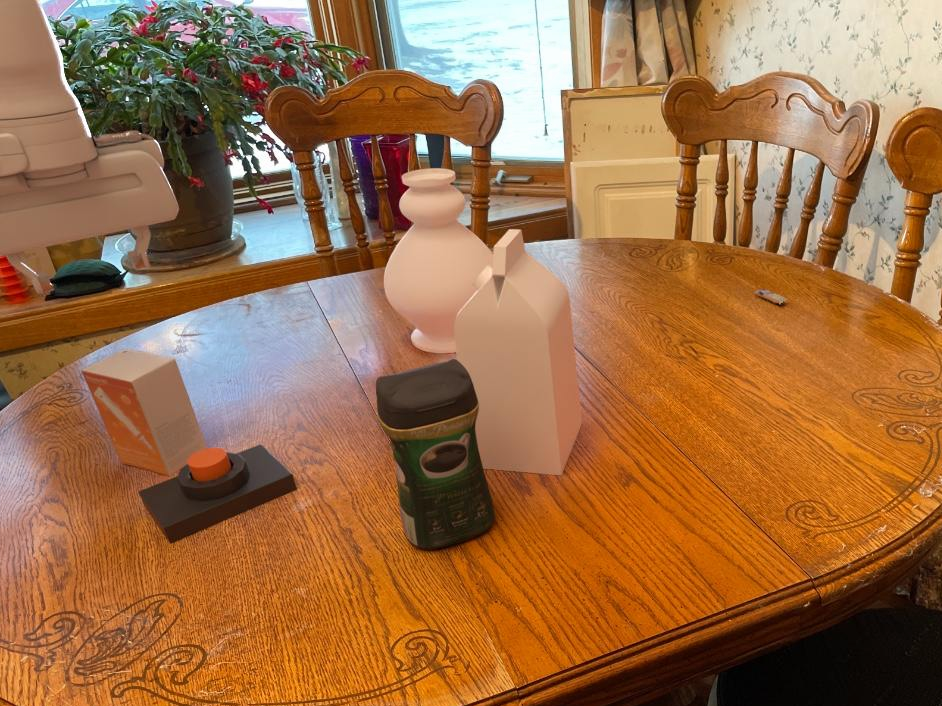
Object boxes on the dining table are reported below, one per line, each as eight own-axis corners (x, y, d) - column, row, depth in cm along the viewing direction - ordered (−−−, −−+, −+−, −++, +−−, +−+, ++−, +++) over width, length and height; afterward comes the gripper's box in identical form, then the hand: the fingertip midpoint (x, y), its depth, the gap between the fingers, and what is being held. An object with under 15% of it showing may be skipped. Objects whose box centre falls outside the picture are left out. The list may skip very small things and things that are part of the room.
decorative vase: (528, 324, 127) (515, 166, 113) (464, 370, 114) (440, 197, 100) (440, 307, 134) (418, 156, 120) (370, 348, 121) (336, 184, 107)
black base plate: (170, 544, 82) (157, 514, 80) (144, 506, 88) (132, 477, 85) (297, 489, 90) (288, 460, 88) (266, 458, 95) (257, 430, 93)
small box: (120, 464, 95) (78, 369, 88) (162, 438, 100) (126, 346, 93) (169, 478, 92) (130, 381, 85) (210, 450, 97) (176, 356, 90)
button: (200, 487, 84) (194, 471, 83) (188, 472, 87) (182, 456, 86) (237, 472, 87) (231, 457, 85) (224, 458, 89) (218, 443, 88)
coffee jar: (479, 493, 88) (458, 344, 78) (504, 532, 82) (485, 376, 72) (394, 519, 85) (361, 366, 74) (414, 561, 79) (381, 401, 68)
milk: (561, 475, 91) (547, 259, 76) (467, 467, 93) (436, 255, 78) (582, 422, 101) (572, 222, 86) (496, 416, 102) (473, 219, 88)
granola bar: (789, 304, 131) (790, 298, 130) (779, 307, 130) (780, 301, 129) (762, 292, 136) (762, 286, 135) (752, 295, 135) (752, 289, 134)
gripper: (144, 123, 84) (185, 249, 91) (-90, 156, 72) (-21, 297, 80) (162, 131, 80) (204, 261, 87) (-82, 167, 68) (-10, 314, 76)
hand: (95, 279), depth 84 cm, fingers open, 8 cm apart
